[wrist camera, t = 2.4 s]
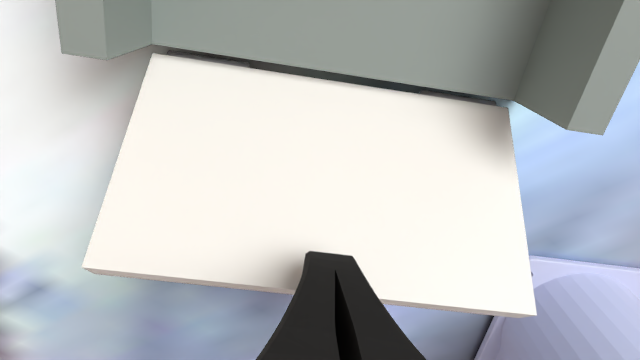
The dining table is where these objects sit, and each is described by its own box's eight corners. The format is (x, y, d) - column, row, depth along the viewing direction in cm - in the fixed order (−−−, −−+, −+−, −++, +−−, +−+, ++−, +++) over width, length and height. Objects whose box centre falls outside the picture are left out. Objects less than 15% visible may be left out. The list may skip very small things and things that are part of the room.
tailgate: (518, 317, 14) (536, 315, 13) (94, 273, 12) (81, 267, 11) (493, 111, 17) (506, 97, 16) (161, 60, 16) (155, 42, 15)
